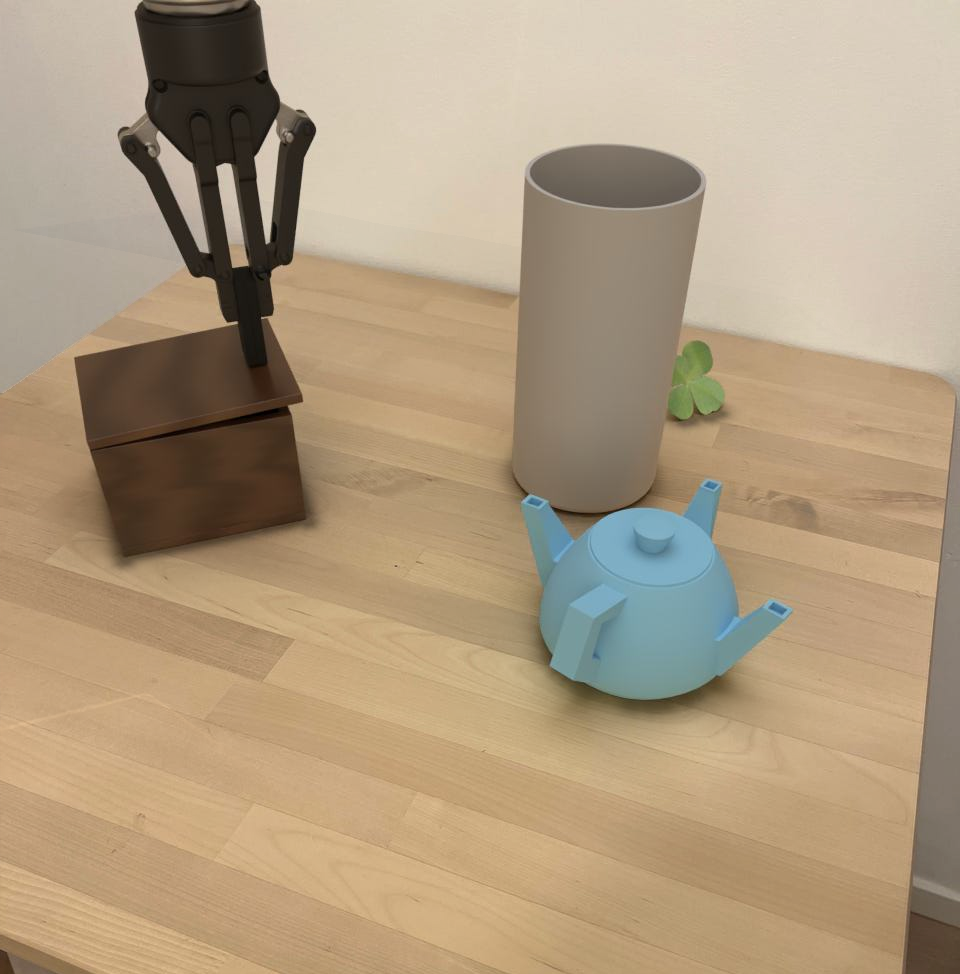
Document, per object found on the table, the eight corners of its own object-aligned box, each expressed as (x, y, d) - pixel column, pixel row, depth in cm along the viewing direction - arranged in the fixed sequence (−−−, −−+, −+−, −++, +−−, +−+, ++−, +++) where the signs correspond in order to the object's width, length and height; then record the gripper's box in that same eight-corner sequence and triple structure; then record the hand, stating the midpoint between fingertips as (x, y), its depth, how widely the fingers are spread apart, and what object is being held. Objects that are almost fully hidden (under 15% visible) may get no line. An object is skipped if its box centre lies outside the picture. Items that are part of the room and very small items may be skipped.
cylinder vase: (662, 519, 80) (720, 211, 62) (512, 516, 80) (527, 208, 62) (646, 435, 89) (692, 145, 71) (510, 432, 89) (522, 141, 71)
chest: (274, 437, 88) (258, 337, 81) (306, 518, 79) (292, 415, 72) (108, 468, 84) (76, 366, 77) (123, 557, 76) (90, 451, 69)
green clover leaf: (666, 439, 97) (710, 436, 92) (609, 399, 93) (651, 394, 88) (693, 375, 98) (739, 368, 92) (637, 333, 94) (681, 323, 88)
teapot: (511, 578, 75) (517, 461, 67) (699, 562, 76) (726, 447, 69) (550, 730, 64) (562, 612, 56) (767, 707, 66) (808, 590, 58)
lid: (269, 326, 80) (267, 317, 80) (303, 402, 72) (302, 393, 72) (76, 365, 77) (73, 356, 76) (90, 450, 69) (86, 441, 68)
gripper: (289, -21, 62) (325, 321, 79) (79, -8, 59) (162, 346, 76) (316, 6, 57) (348, 365, 74) (89, 21, 54) (176, 394, 71)
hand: (254, 355), depth 75 cm, fingers closed
